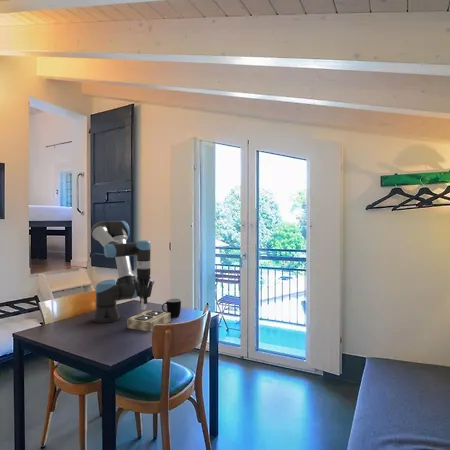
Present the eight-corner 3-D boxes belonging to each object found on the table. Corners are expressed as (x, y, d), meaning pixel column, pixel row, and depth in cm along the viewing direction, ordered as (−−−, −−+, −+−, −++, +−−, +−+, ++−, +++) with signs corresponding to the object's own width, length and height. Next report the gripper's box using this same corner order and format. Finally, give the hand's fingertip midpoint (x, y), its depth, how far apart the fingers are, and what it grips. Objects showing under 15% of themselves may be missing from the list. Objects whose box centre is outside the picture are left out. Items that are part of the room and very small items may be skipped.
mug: (182, 314, 224) (182, 298, 224) (179, 318, 215) (179, 302, 215) (164, 313, 225) (164, 298, 225) (160, 318, 216) (159, 301, 216)
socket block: (127, 327, 198) (127, 318, 198) (148, 318, 216) (148, 309, 216) (150, 331, 192) (150, 321, 191) (170, 321, 210) (170, 312, 210)
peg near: (139, 326, 198) (139, 318, 198) (143, 324, 202) (143, 316, 201) (145, 327, 197) (144, 318, 197) (148, 325, 200) (148, 317, 200)
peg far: (150, 321, 207) (150, 313, 207) (153, 319, 211) (153, 311, 211) (155, 322, 206) (155, 314, 206) (158, 320, 209) (158, 312, 209)
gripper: (130, 268, 197) (130, 309, 198) (149, 270, 192) (149, 312, 193) (138, 266, 204) (138, 306, 205) (157, 267, 199) (157, 308, 200)
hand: (143, 309), depth 199 cm, fingers closed
